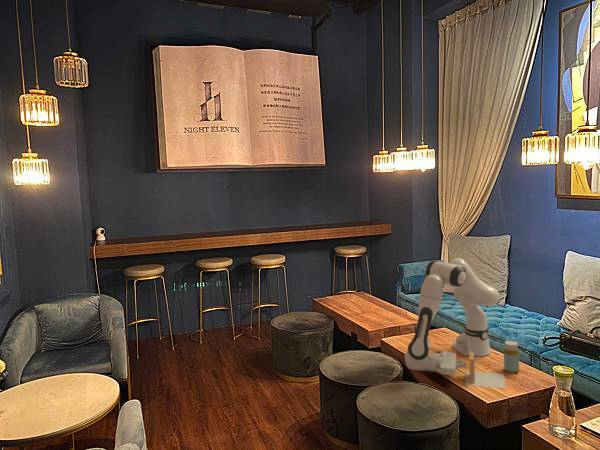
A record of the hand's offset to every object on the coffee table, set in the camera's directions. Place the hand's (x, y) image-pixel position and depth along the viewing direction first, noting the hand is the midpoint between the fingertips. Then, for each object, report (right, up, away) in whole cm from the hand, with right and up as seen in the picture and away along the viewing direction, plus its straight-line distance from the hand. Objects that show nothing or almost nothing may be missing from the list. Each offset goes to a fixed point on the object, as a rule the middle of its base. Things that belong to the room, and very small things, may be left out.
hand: (465, 364), depth 241 cm
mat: (+9, -7, -2) cm, 11 cm away
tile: (+3, -7, 0) cm, 7 cm away
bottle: (+26, -5, +6) cm, 27 cm away
